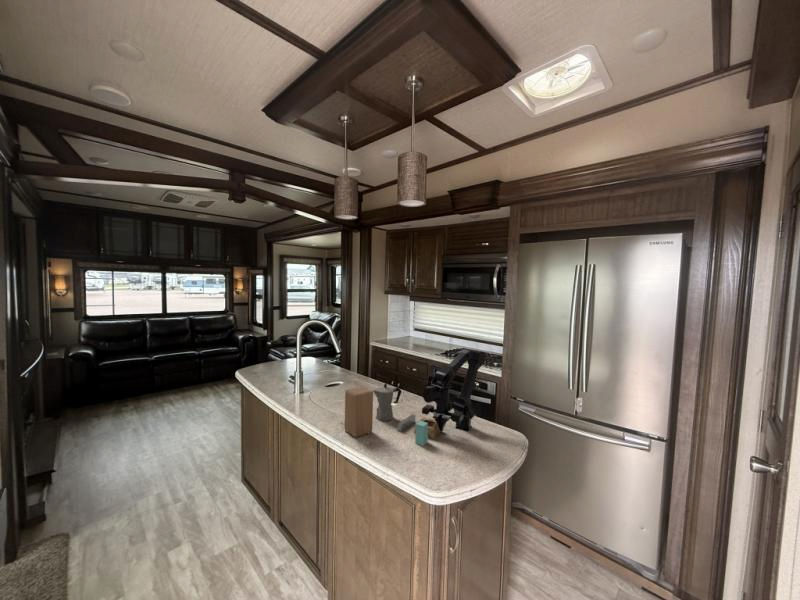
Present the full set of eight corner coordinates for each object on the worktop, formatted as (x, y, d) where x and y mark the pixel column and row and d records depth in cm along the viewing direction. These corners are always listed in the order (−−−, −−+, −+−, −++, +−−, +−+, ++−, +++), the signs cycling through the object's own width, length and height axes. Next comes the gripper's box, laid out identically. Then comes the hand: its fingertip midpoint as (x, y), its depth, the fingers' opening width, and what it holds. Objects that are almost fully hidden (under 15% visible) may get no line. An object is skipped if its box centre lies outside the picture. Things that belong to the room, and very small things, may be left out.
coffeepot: (374, 422, 160) (375, 387, 160) (370, 415, 169) (371, 382, 169) (403, 419, 165) (404, 385, 164) (398, 413, 174) (398, 380, 173)
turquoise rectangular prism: (427, 442, 141) (428, 422, 141) (423, 446, 138) (423, 426, 138) (419, 440, 143) (420, 420, 143) (415, 444, 140) (415, 423, 140)
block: (343, 430, 151) (344, 389, 150) (361, 425, 157) (362, 385, 157) (354, 438, 143) (355, 395, 143) (373, 432, 150) (374, 390, 149)
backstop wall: (415, 422, 163) (415, 415, 163) (401, 432, 151) (401, 425, 151) (411, 421, 164) (412, 414, 164) (397, 431, 152) (397, 423, 152)
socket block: (441, 431, 153) (441, 421, 153) (432, 439, 145) (433, 429, 144) (423, 426, 158) (424, 417, 158) (414, 433, 150) (414, 424, 149)
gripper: (468, 397, 149) (466, 430, 149) (431, 389, 158) (430, 420, 159) (459, 404, 139) (458, 439, 140) (421, 395, 149) (420, 428, 150)
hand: (441, 431), depth 147 cm, fingers closed
